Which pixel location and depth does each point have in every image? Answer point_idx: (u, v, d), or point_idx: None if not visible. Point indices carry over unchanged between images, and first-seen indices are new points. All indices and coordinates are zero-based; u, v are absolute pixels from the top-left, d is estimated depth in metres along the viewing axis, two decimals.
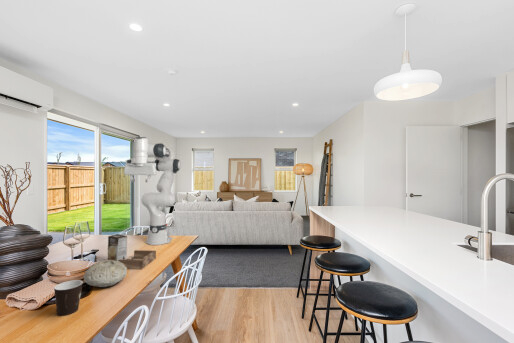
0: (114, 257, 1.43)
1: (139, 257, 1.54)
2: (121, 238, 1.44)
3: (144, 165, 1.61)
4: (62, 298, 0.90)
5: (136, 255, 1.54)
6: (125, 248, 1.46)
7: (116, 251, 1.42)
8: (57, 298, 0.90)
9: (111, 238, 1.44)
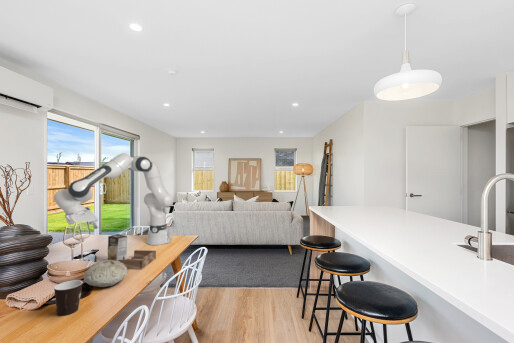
0: (114, 257, 1.43)
1: (139, 257, 1.54)
2: (121, 238, 1.44)
3: None
4: (62, 298, 0.90)
5: (136, 255, 1.54)
6: (125, 248, 1.46)
7: (116, 251, 1.42)
8: (57, 298, 0.90)
9: (111, 238, 1.44)
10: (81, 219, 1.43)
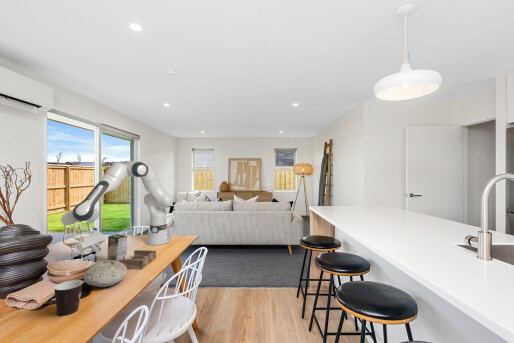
0: (114, 257, 1.43)
1: (139, 257, 1.54)
2: (121, 238, 1.44)
3: None
4: (62, 298, 0.90)
5: (136, 255, 1.54)
6: (125, 248, 1.46)
7: (116, 251, 1.42)
8: (57, 298, 0.90)
9: (111, 238, 1.44)
10: (88, 241, 1.43)
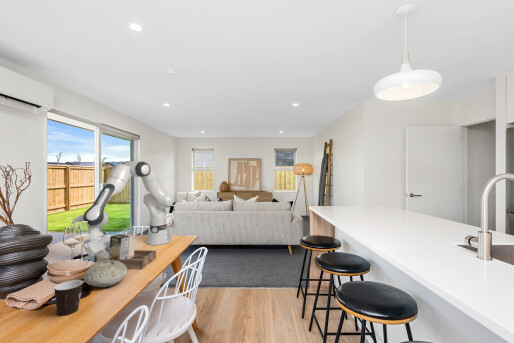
0: (117, 256, 1.43)
1: (139, 257, 1.54)
2: (124, 238, 1.44)
3: None
4: (62, 298, 0.90)
5: (136, 255, 1.54)
6: (127, 248, 1.47)
7: (119, 251, 1.42)
8: (57, 298, 0.90)
9: (113, 238, 1.44)
10: (99, 246, 1.43)
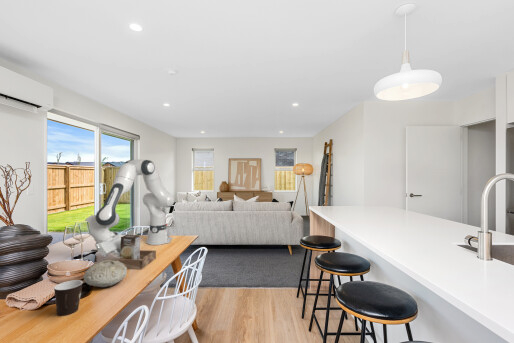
0: (130, 257, 1.43)
1: (139, 257, 1.54)
2: (137, 238, 1.46)
3: None
4: (62, 298, 0.90)
5: None
6: (139, 247, 1.48)
7: (133, 251, 1.43)
8: (57, 298, 0.90)
9: (125, 238, 1.44)
10: (110, 246, 1.43)
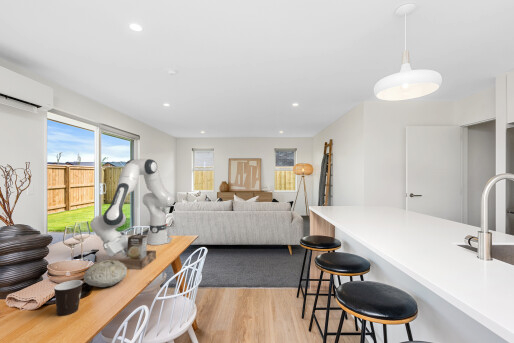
0: (137, 257, 1.43)
1: None
2: (144, 238, 1.46)
3: None
4: (62, 298, 0.90)
5: None
6: (146, 248, 1.48)
7: (140, 251, 1.43)
8: (57, 298, 0.90)
9: (132, 239, 1.44)
10: (118, 246, 1.42)
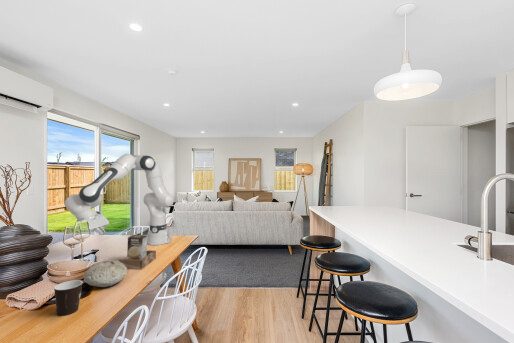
0: (137, 257, 1.43)
1: None
2: (144, 238, 1.46)
3: None
4: (62, 298, 0.90)
5: None
6: (146, 248, 1.48)
7: (140, 251, 1.43)
8: (57, 298, 0.90)
9: (132, 239, 1.44)
10: (92, 224, 1.43)
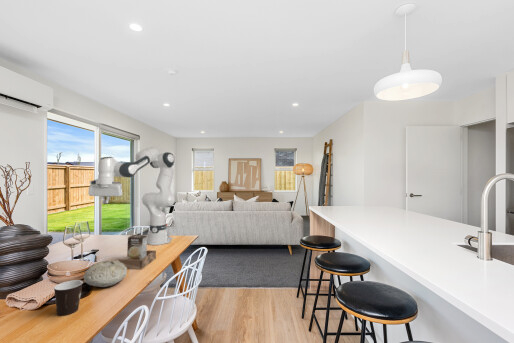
0: (137, 257, 1.43)
1: None
2: (144, 238, 1.46)
3: (109, 186, 1.57)
4: (62, 298, 0.90)
5: None
6: (146, 248, 1.48)
7: (140, 251, 1.43)
8: (57, 298, 0.90)
9: (132, 239, 1.44)
10: None
